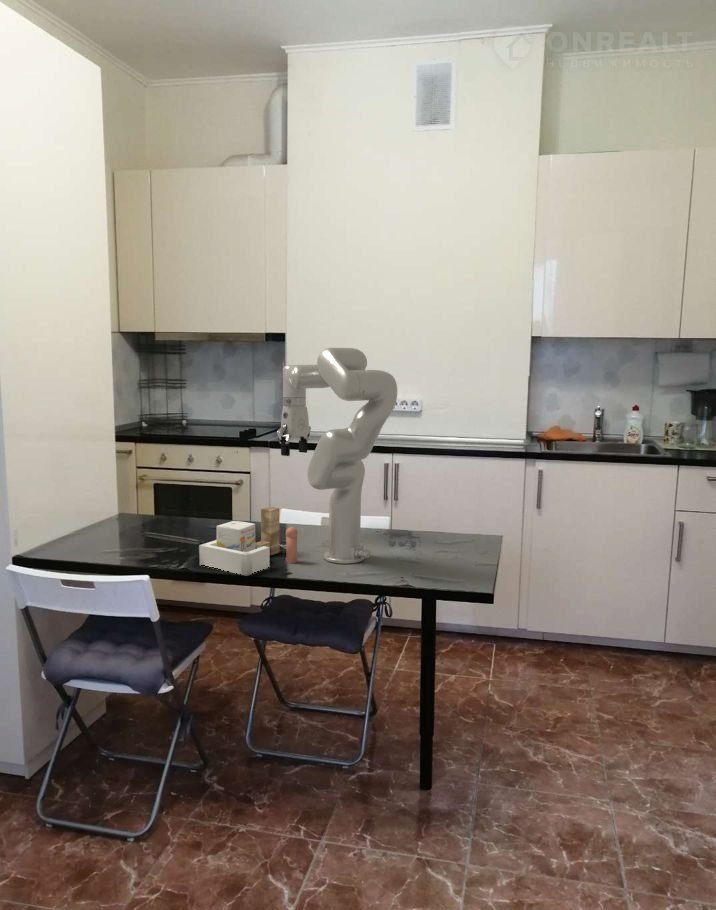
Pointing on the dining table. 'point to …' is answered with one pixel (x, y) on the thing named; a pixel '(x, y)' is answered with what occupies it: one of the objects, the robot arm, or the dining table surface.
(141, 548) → the dining table surface
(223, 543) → the ink box
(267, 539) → the kicker
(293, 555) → the figure left
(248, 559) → the frame
